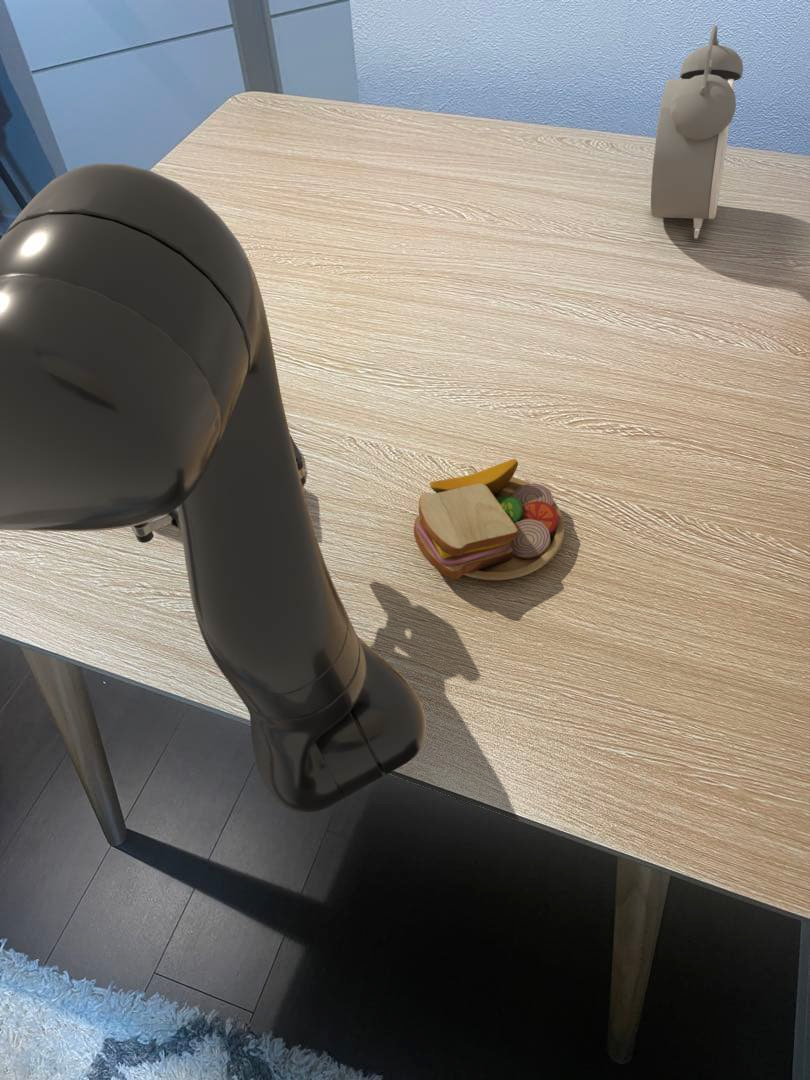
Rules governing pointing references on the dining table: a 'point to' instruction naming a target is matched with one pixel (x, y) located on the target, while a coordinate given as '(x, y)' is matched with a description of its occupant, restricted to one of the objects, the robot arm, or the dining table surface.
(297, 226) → the dining table surface
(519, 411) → the dining table surface
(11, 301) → the robot arm
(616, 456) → the dining table surface
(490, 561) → the toy sandwich meal
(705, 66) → the alarm clock
